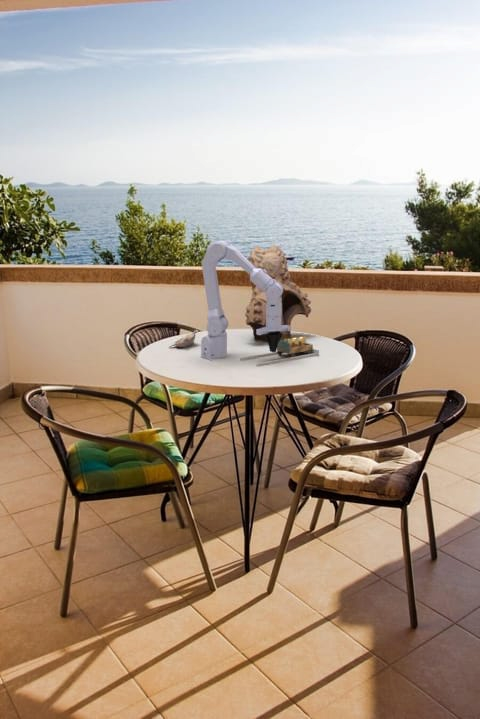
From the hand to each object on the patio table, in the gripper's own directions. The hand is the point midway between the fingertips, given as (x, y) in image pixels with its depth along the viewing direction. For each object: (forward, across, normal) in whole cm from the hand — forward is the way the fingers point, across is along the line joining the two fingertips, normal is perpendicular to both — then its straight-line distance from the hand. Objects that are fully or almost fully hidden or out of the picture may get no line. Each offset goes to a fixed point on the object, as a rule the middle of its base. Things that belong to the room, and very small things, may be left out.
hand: (272, 351), depth 248 cm
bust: (+4, +24, +30) cm, 38 cm away
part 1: (0, +7, 0) cm, 7 cm away
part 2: (0, +11, 0) cm, 11 cm away
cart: (+3, +11, 0) cm, 11 cm away
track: (+3, +3, 0) cm, 5 cm away
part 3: (0, +14, 0) cm, 14 cm away
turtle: (+4, -15, +40) cm, 43 cm away
